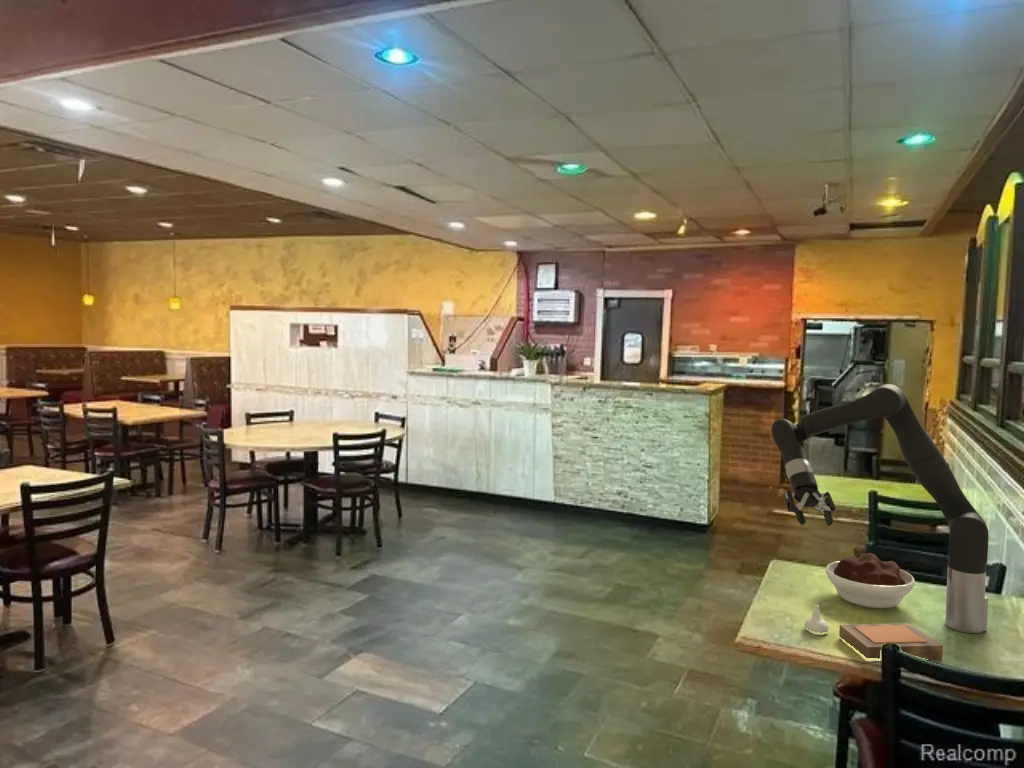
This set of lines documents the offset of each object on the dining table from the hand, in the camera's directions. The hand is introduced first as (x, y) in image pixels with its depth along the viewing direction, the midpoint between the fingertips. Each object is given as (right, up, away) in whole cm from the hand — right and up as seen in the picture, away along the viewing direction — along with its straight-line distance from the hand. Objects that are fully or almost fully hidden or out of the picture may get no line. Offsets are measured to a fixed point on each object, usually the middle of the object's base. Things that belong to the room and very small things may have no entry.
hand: (816, 524), depth 207 cm
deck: (+10, -29, -21) cm, 37 cm away
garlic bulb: (-4, -29, -9) cm, 31 cm away
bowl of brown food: (+22, -27, +13) cm, 37 cm away
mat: (+10, -25, -21) cm, 35 cm away
